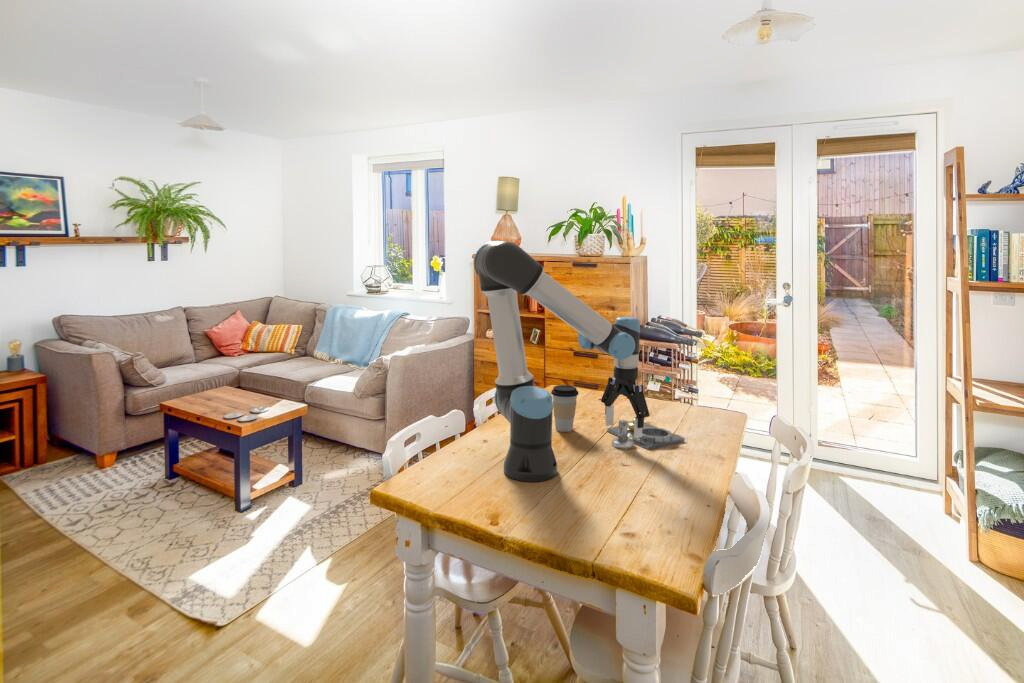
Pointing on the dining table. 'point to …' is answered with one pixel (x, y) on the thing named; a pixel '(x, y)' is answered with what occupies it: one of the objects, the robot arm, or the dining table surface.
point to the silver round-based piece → (623, 437)
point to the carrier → (650, 436)
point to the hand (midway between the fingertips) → (623, 431)
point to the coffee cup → (564, 406)
